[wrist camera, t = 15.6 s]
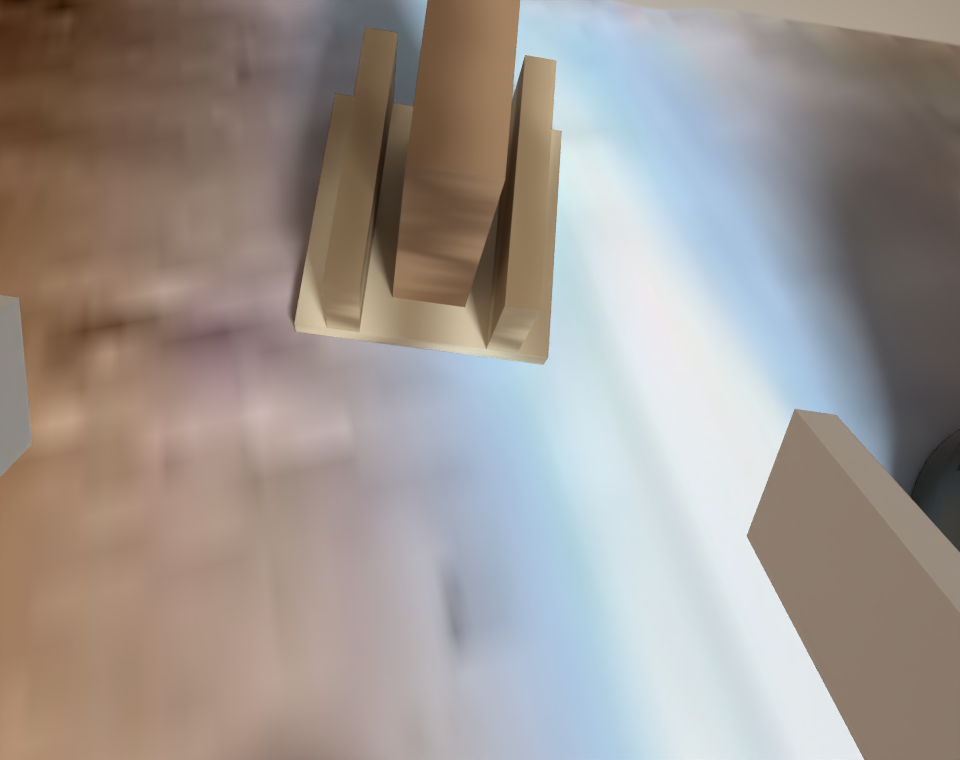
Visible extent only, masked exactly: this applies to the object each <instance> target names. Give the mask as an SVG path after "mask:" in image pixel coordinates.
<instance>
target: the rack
mask: <svg viewBox="0 0 960 760" xmlns="http://www.w3.org/2000/svg"><path fill="white" fill-rule="evenodd" d="M397 39H398V33H397V32H391V31H385V30H380V29H374V28H368V27H365V32H364V38H363V44H362V50H361V56H360V62H359V68H358V74H357V80H356V85H355V91H354V96H348V95H342V94H336V93H335V98H334V103H333V109H332V115H331V120H330V126H329V132H328V137H327V143H326V148H325V154H324V160H323V165H322V171H321V177H320V182H319V188H318V193H317V199H316V205H315V210H314V216H313V221H312V227H311V233H310V238H309V244H308V250H307V255H306V261H305V266H304V272H303V278H302V283H301V289H300V294H299V300H298V306H297V311H296V317H295V323H294V324H295V330H296V332H303V333H310V334H318V335H325V336H333V337H340V338H348V339H355V340H363V341H370V342H378V343H385V344H393V345H400V346H408V347H415V348H423V349H431V350H438V351H446V352H453V353H461V354H468V355H476V356H483V357H491V358H498V359H506V360H513V361H521V362H528V363H536V364H544V363H545V361H546V360H547V358H548V351H549V334H550V317H551V300H552V284H553V267H554V250H555V233H556V216H557V199H558V183H559V166H560V149H561V132H562V131H558V130H552V120H553V104H554V89H555V73H556V61H555V60H550V59H544V58H538V57H533V56H527V55H525V58H524V61H523V65H522V68H521V72H520V75H519V79H518V82H517V86H516V89H515V93H514V97H513V100H512V104H511V116H510V128H509V140H508V152H507V164H506V176H505V182H504V185H503V188H502V191H501V195H500V198H499V201H498V204H497V207H496V210H495V214H494V217H493V220H492V223H491V226H490V230H489V233H488V236H487V239H486V242H485V245H484V249H483V252H482V255H481V258H480V261H479V264H478V268H477V271H476V274H475V277H474V280H473V284H472V287H471V290H470V293H469V296H468V299H467V303H466V306H465V307H459V306H451V305H444V304H437V303H430V302H422V301H415V300H408V299H400V298H393V297H392V296H393V286H394V276H395V266H396V256H397V246H398V236H399V226H400V216H401V206H402V196H403V186H404V176H405V166H406V158H407V151H408V143H409V136H410V128H411V121H412V113H413V106H408V105H402V104H396V103H393V99H394V84H395V69H396V54H397Z"/></svg>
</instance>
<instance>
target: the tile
mask: <svg viewBox="0 0 960 760" xmlns="http://www.w3.org/2000/svg"><path fill="white" fill-rule="evenodd" d="M519 8H520V0H428V1H427V9H426V16H425V24H424V31H423V39H422V46H421V54H420V61H419V69H418V76H417V84H416V91H415V99H414V106H413V113H412V121H411V128H410V136H409V143H408V151H407V158H406V166H405V176H404V186H403V196H402V206H401V216H400V226H399V236H398V246H397V256H396V266H395V276H394V286H393V296H392V297H393V298H400V299H408V300H415V301H422V302H430V303H437V304H444V305H451V306H459V307H465V306H466V303H467V299H468V296H469V293H470V290H471V287H472V284H473V280H474V277H475V274H476V271H477V268H478V264H479V261H480V258H481V255H482V252H483V249H484V245H485V242H486V239H487V236H488V233H489V230H490V226H491V223H492V220H493V217H494V214H495V210H496V207H497V204H498V201H499V198H500V195H501V191H502V188H503V185H504V182H505V176H506V164H507V152H508V140H509V128H510V116H511V104H512V92H513V80H514V68H515V56H516V44H517V32H518V20H519Z"/></svg>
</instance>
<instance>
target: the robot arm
mask: <svg viewBox="0 0 960 760" xmlns="http://www.w3.org/2000/svg"><path fill="white" fill-rule="evenodd" d="M31 445H32V437H31V426H30V415H29V404H28V393H27V381H26V370H25V359H24V348H23V337H22V326H21V315H20V304H19V298H17V297H10V296H3V295H0V477H1V476H2V475H3V474H4V473H5V471H6V470H7V469H8V468H9V467H10V466H11V465H12V464H13V463H14V462H15V461H16V460H17V459H18V458H19V457H20V456H21V455H22V454H23V453H24V452H25V451H26V450H27V449H28V448H29V447H30V446H31ZM747 538H748V539H749V541H750V543H751V545H752V547H753V549H754V551H755V553H756V555H757V557H758V558H759V560H760V562H761V564H762V566H763V568H764V570H765V572H766V574H767V576H768V577H769V579H770V581H771V583H772V585H773V587H774V589H775V591H776V593H777V595H778V596H779V598H780V600H781V602H782V604H783V606H784V608H785V610H786V612H787V614H788V615H789V617H790V619H791V621H792V623H793V625H794V627H795V629H796V631H797V633H798V634H799V636H800V638H801V640H802V642H803V644H804V646H805V648H806V650H807V652H808V653H809V655H810V657H811V659H812V661H813V663H814V665H815V667H816V669H817V671H818V672H819V674H820V676H821V678H822V680H823V682H824V684H825V686H826V688H827V690H828V691H829V693H830V695H831V697H832V699H833V701H834V703H835V705H836V707H837V708H838V710H839V712H840V714H841V716H842V718H843V720H844V722H845V724H846V726H847V727H848V729H849V731H850V733H851V735H852V737H853V739H854V741H855V743H856V745H857V746H858V748H859V750H860V752H861V754H862V756H863V758H864V760H960V430H958V431H957V432H955V433H954V434H952V435H951V436H949V437H948V438H947V439H946V440H945V441H943V442H942V443H941V444H940V445H939V446H938V447H937V448H936V450H935V451H934V452H933V453H932V455H931V456H930V457H929V459H928V460H927V462H926V463H925V465H924V467H923V469H922V471H921V472H920V475H919V477H918V479H917V482H916V484H915V488H914V491H913V494H912V498H910V497H909V495H908V494H907V493H906V492H905V491H904V490H903V489H902V488H901V487H900V485H899V484H898V483H897V482H896V481H895V480H894V479H893V478H892V476H891V475H890V474H889V473H888V472H887V471H886V470H885V469H884V468H883V466H882V465H881V464H880V463H879V462H878V461H877V460H876V459H875V458H874V456H873V455H872V454H871V453H870V452H869V451H868V450H867V449H866V448H865V446H864V445H863V444H862V443H861V442H860V441H859V440H858V439H857V438H856V436H855V435H854V434H853V433H852V432H851V431H850V430H849V429H848V428H847V426H846V425H845V424H844V423H843V422H842V421H841V420H840V419H839V417H838V416H837V415H833V414H826V413H819V412H812V411H805V410H798V409H795V410H794V412H793V415H792V418H791V420H790V423H789V426H788V428H787V431H786V434H785V436H784V439H783V442H782V444H781V447H780V449H779V452H778V455H777V457H776V460H775V463H774V465H773V468H772V471H771V473H770V476H769V478H768V481H767V484H766V486H765V489H764V492H763V494H762V497H761V500H760V502H759V505H758V508H757V510H756V513H755V515H754V518H753V521H752V523H751V526H750V529H749V531H748V534H747Z"/></svg>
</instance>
